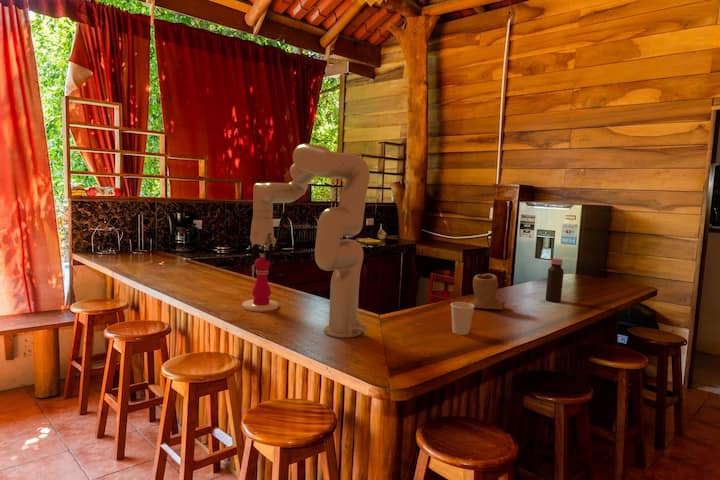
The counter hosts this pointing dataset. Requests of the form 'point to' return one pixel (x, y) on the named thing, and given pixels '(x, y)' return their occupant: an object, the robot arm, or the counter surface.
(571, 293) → the counter surface
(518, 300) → the counter surface
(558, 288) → the bottle
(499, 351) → the counter surface
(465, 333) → the dixie cup
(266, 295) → the pepper mill
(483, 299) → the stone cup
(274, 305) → the disc
